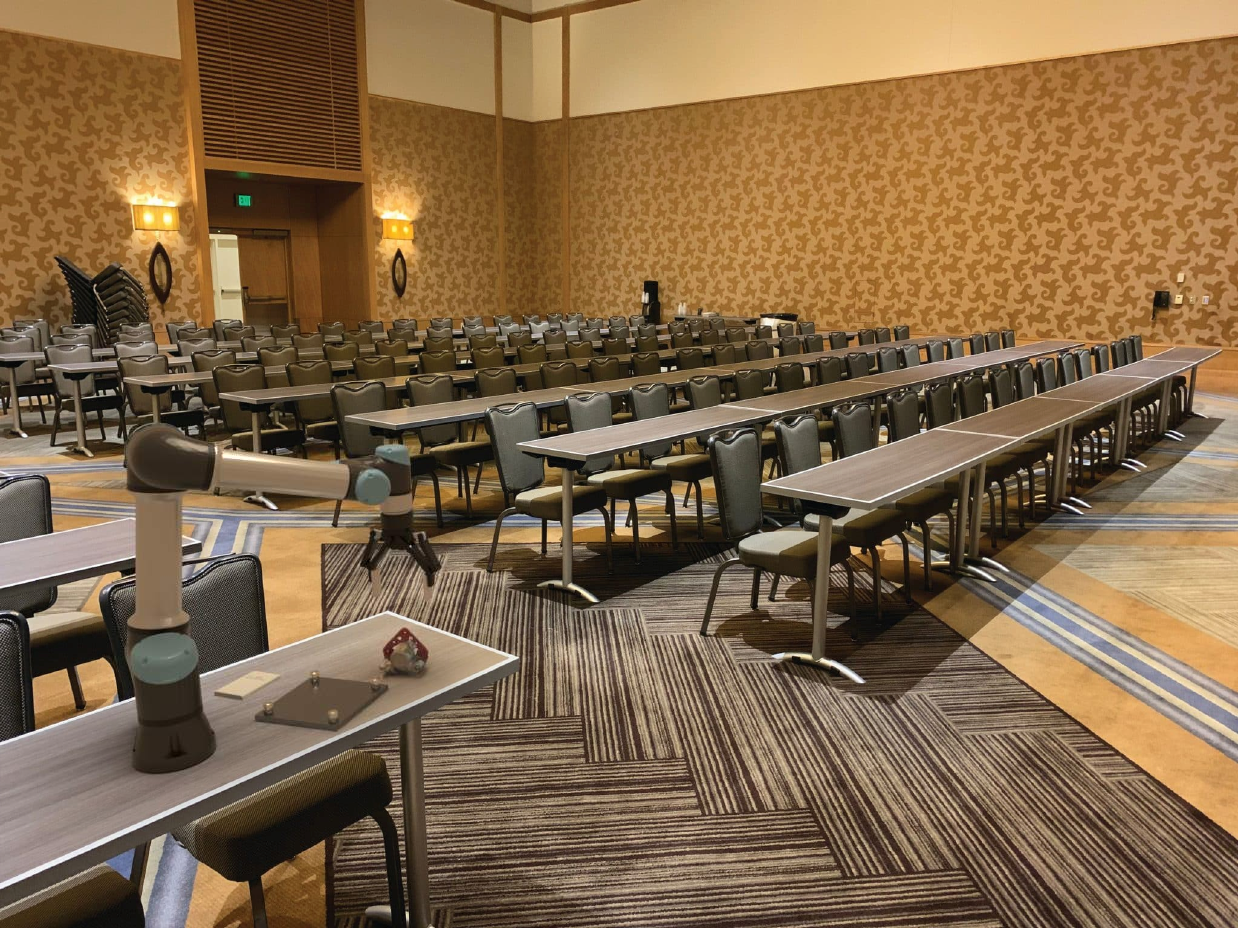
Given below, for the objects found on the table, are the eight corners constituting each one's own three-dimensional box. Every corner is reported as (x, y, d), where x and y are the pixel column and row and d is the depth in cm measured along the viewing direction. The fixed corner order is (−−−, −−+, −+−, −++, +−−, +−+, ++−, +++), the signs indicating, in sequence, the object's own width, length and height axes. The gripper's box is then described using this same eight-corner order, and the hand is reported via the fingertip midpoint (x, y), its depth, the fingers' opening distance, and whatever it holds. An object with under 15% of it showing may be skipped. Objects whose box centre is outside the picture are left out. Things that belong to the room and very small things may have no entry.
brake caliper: (437, 651, 226) (426, 625, 217) (428, 691, 218) (415, 666, 209) (393, 649, 227) (380, 624, 218) (382, 689, 220) (368, 664, 211)
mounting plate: (255, 720, 195) (253, 706, 195) (313, 680, 215) (311, 667, 214) (336, 731, 190) (335, 716, 189) (388, 689, 210) (387, 676, 209)
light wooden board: (214, 697, 208) (253, 676, 220) (242, 702, 205) (280, 680, 217) (213, 690, 208) (252, 669, 219) (242, 695, 205) (280, 674, 217)
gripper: (452, 509, 213) (457, 596, 217) (358, 504, 219) (364, 588, 223) (437, 517, 205) (443, 606, 209) (340, 512, 212) (347, 598, 216)
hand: (402, 597), depth 216 cm, fingers open, 13 cm apart
